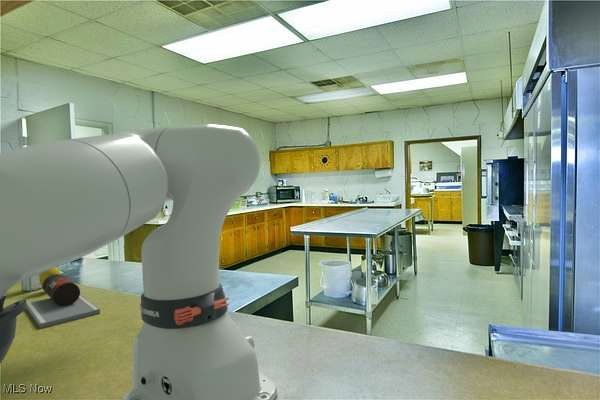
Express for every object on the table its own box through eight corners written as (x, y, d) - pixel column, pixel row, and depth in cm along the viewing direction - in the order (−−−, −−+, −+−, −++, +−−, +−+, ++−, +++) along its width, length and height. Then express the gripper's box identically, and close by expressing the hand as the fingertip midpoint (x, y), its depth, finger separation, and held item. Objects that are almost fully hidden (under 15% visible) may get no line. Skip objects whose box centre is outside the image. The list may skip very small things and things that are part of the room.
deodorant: (84, 296, 91) (71, 286, 102) (72, 278, 89) (60, 269, 100) (61, 310, 88) (49, 299, 98) (47, 292, 86) (37, 282, 96)
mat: (100, 313, 85) (99, 308, 85) (40, 328, 76) (39, 323, 76) (77, 295, 100) (77, 292, 100) (25, 307, 92) (24, 303, 92)
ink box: (31, 292, 107) (28, 249, 106) (21, 291, 107) (18, 249, 107) (52, 285, 113) (49, 245, 113) (42, 285, 114) (39, 245, 114)
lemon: (43, 290, 108) (41, 265, 108) (64, 287, 110) (62, 262, 110) (38, 295, 103) (36, 268, 103) (60, 292, 105) (58, 266, 105)
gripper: (31, 231, 65) (11, 228, 73) (137, 220, 81) (111, 219, 90) (29, 198, 65) (9, 198, 73) (136, 194, 81) (109, 195, 89)
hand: (66, 210), depth 82 cm, fingers closed
